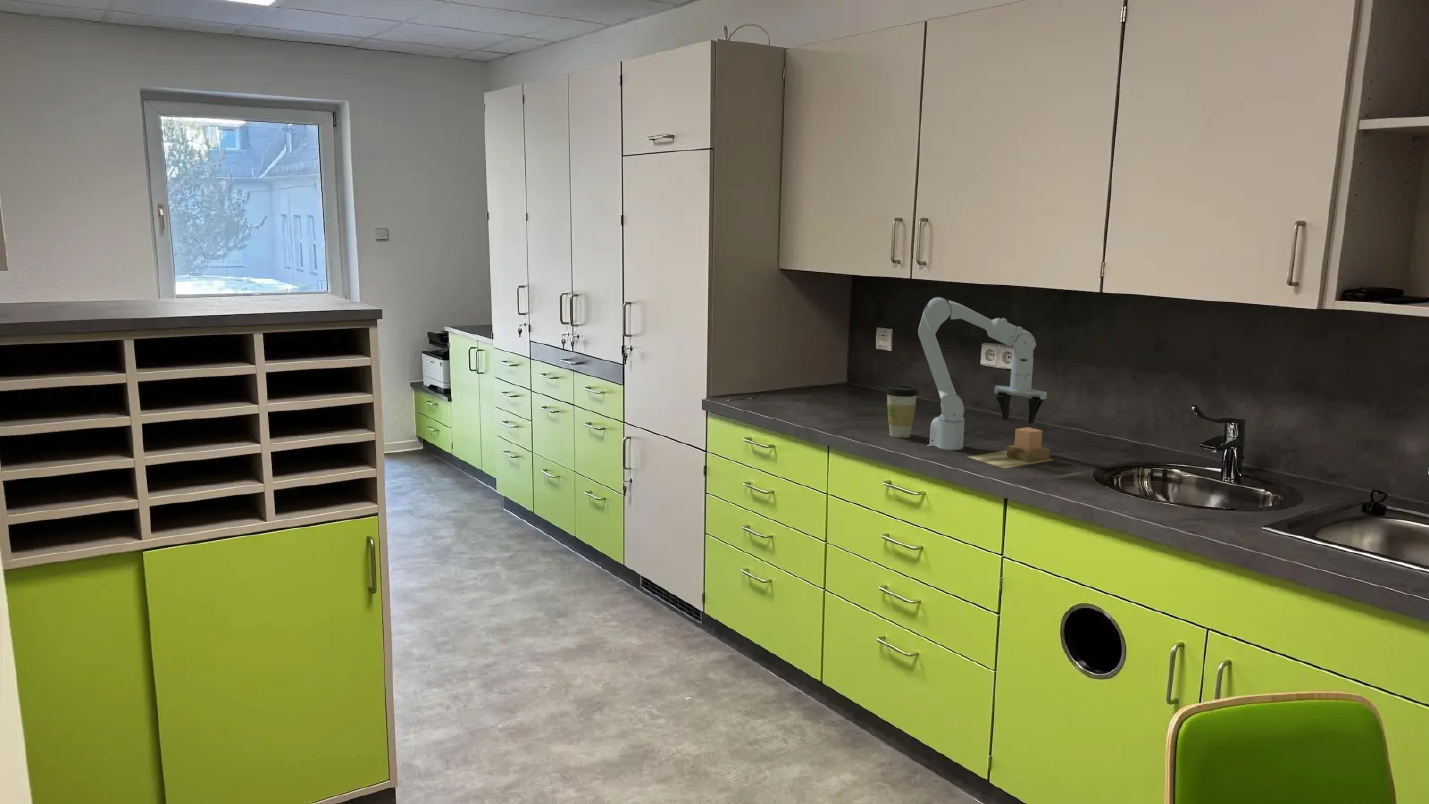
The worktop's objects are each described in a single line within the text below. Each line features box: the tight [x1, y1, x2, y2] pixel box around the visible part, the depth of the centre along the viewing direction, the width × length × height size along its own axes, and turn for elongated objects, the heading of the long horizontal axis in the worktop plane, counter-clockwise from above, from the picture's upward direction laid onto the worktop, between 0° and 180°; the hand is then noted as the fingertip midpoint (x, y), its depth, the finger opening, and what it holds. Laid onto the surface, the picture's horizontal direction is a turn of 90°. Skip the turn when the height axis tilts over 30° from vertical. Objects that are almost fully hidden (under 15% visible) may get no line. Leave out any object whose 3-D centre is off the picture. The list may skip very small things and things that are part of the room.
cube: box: [1013, 427, 1043, 450], centre depth 262 cm, size 5×5×5 cm
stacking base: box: [967, 444, 1054, 469], centre depth 262 cm, size 14×19×4 cm
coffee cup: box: [885, 384, 919, 439], centre depth 292 cm, size 10×10×15 cm
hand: (1018, 420), depth 270 cm, fingers open, 7 cm apart
